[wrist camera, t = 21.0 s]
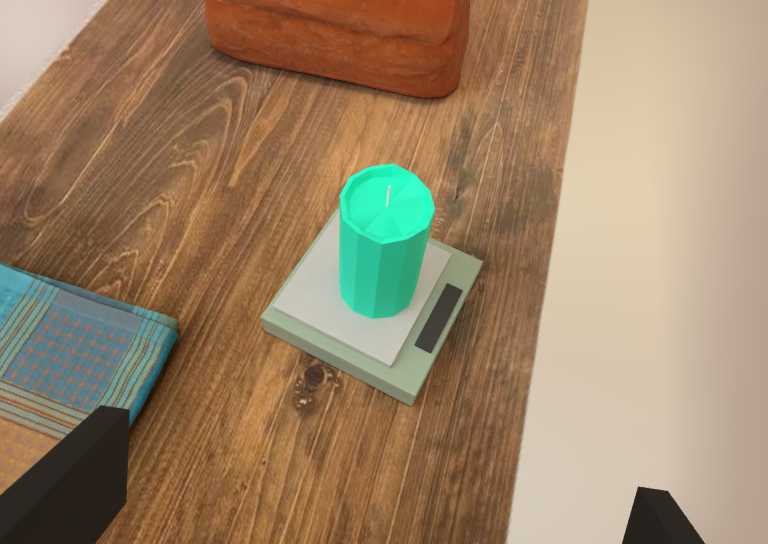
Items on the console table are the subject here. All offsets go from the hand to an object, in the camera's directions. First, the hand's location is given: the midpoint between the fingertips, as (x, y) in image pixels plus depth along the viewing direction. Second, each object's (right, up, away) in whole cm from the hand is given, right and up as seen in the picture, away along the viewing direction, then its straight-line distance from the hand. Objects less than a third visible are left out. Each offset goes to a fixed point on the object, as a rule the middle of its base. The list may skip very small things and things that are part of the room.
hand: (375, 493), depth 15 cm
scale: (-1, +3, +33) cm, 33 cm away
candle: (0, +5, +31) cm, 31 cm away
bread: (-4, +31, +49) cm, 59 cm away
